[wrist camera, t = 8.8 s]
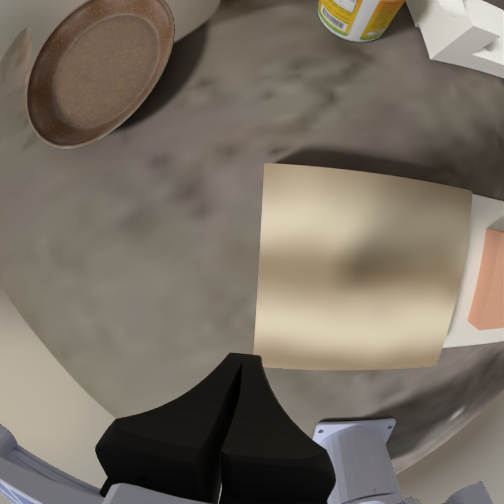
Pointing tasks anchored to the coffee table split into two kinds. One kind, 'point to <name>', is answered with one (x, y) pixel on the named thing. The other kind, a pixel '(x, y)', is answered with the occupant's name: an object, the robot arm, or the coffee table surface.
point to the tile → (490, 285)
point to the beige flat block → (357, 268)
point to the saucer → (97, 69)
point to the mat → (474, 275)
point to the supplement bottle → (358, 17)
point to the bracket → (462, 32)
